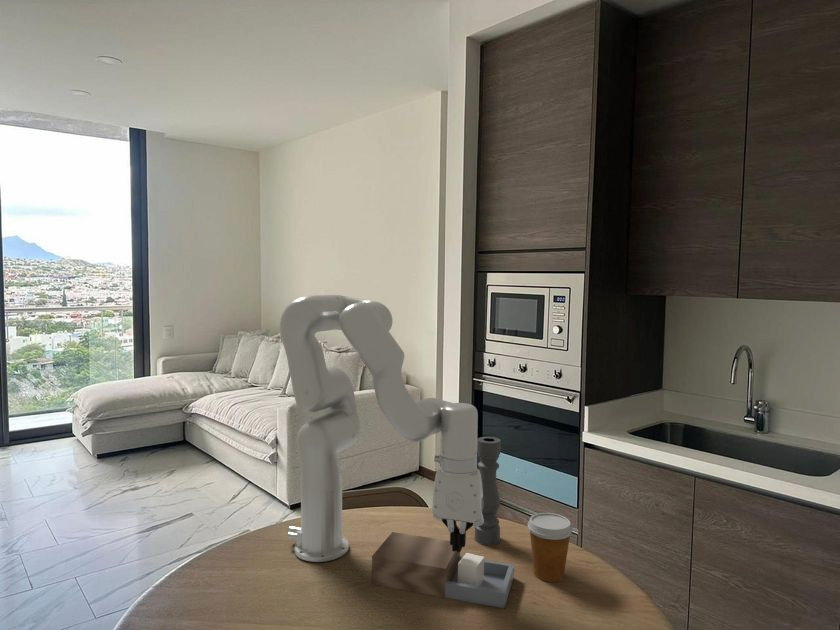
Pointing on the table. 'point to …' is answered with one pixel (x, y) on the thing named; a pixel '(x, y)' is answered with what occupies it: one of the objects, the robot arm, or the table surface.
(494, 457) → the candle holder
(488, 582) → the box
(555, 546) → the disposable coffee cup
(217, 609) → the table surface
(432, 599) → the table surface
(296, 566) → the table surface
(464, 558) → the white block
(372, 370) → the robot arm
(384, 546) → the brown wooden box
